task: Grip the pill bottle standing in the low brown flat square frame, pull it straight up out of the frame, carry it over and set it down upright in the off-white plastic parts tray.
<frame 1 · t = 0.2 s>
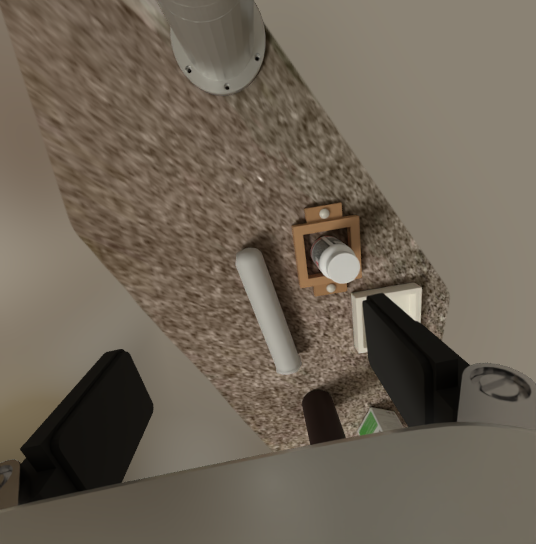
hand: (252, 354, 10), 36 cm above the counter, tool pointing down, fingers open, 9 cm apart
skincare box: (375, 421, 61), on the counter
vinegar: (316, 400, 58), on the counter
pill bottle: (325, 250, 47), resting in brown flat square frame
tube: (268, 305, 50), on the counter
parts tray: (382, 315, 52), on the counter
brown flat square frame: (326, 250, 47), on the counter
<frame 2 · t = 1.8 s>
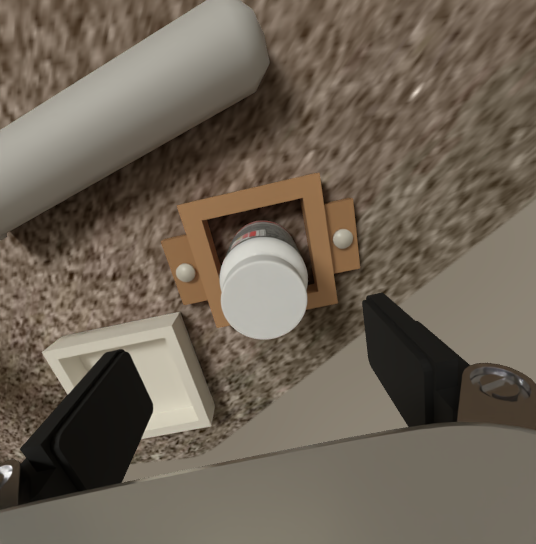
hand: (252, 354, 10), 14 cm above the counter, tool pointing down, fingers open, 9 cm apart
pill bottle: (263, 251, 23), resting in brown flat square frame
tube: (118, 136, 20), on the counter
parts tray: (143, 373, 27), on the counter
brown flat square frame: (263, 252, 23), on the counter
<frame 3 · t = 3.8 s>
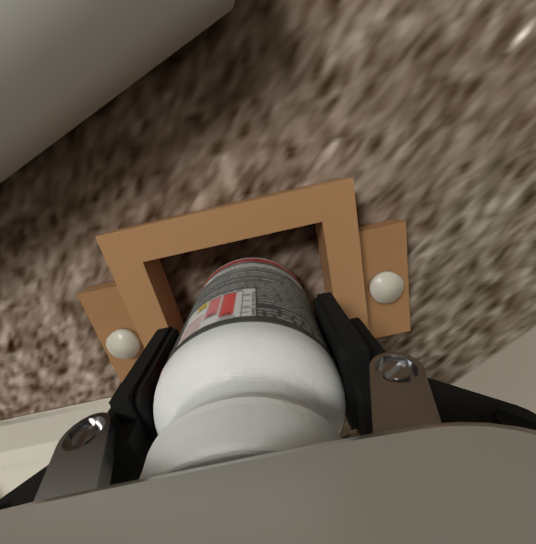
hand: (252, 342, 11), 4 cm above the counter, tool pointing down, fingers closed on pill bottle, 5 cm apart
pill bottle: (253, 303, 15), resting in brown flat square frame, touching gripper
tube: (0, 124, 12), on the counter
parts tray: (74, 479, 18), on the counter
brown flat square frame: (253, 305, 14), on the counter
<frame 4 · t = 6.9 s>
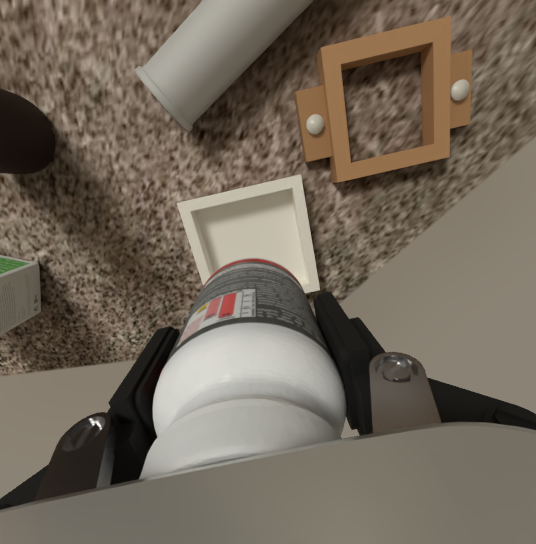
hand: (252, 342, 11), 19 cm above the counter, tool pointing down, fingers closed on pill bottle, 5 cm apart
skincare box: (4, 281, 29), on the counter
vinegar: (20, 135, 25), on the counter
pill bottle: (253, 304, 15), point 15 cm above the counter, touching gripper
tube: (272, 6, 23), on the counter
parts tray: (253, 244, 29), on the counter
brown flat square frame: (380, 111, 25), on the counter
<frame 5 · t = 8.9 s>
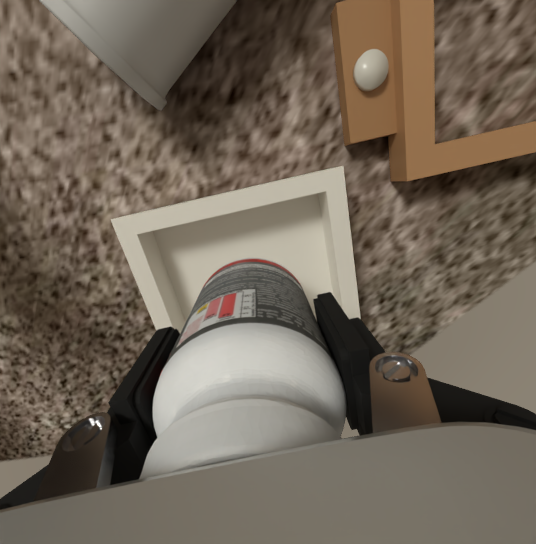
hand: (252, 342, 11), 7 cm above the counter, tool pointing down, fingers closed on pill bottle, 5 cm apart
pill bottle: (253, 304, 15), point 3 cm above the counter, touching gripper
parts tray: (253, 283, 17), on the counter
brown flat square frame: (488, 49, 14), on the counter
when the fingers open (5 cm above the counter, at t = 10.3 s): pill bottle stays where it is, resting on parts tray.
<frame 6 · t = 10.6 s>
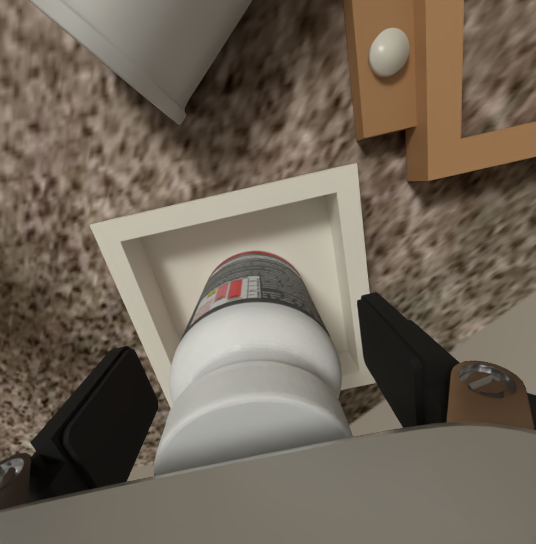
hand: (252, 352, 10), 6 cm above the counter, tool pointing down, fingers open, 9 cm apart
pill bottle: (255, 294, 15), resting on parts tray
parts tray: (253, 294, 16), on the counter
brown flat square frame: (520, 30, 12), on the counter
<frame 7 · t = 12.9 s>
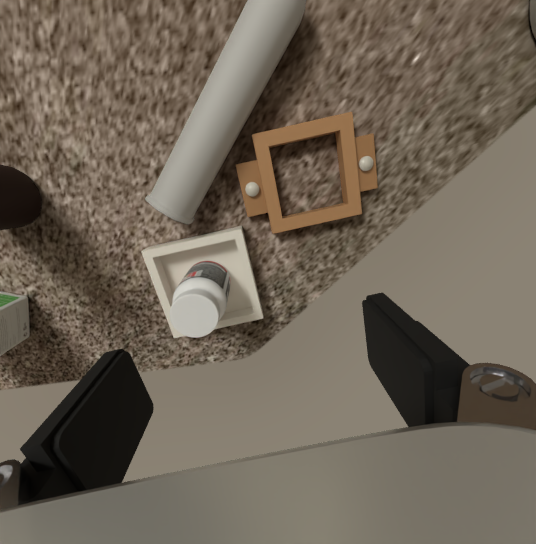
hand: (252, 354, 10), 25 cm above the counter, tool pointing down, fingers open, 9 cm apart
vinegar: (13, 196, 31), on the counter
pill bottle: (209, 279, 35), resting on parts tray
tube: (227, 113, 30), on the counter
parts tray: (208, 279, 35), on the counter
brown flat square frame: (306, 176, 32), on the counter
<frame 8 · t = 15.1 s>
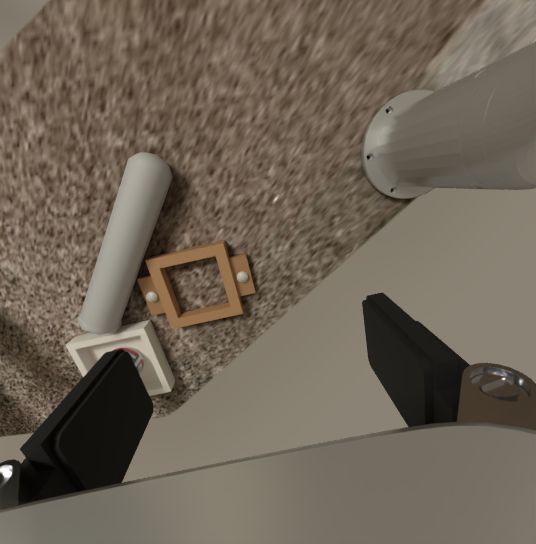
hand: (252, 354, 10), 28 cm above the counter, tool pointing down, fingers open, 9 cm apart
pill bottle: (127, 359, 43), resting on parts tray
tube: (133, 242, 37), on the counter
parts tray: (128, 358, 43), on the counter
brown flat square frame: (198, 283, 39), on the counter
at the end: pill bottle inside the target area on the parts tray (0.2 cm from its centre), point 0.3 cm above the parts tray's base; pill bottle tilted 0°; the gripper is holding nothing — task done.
